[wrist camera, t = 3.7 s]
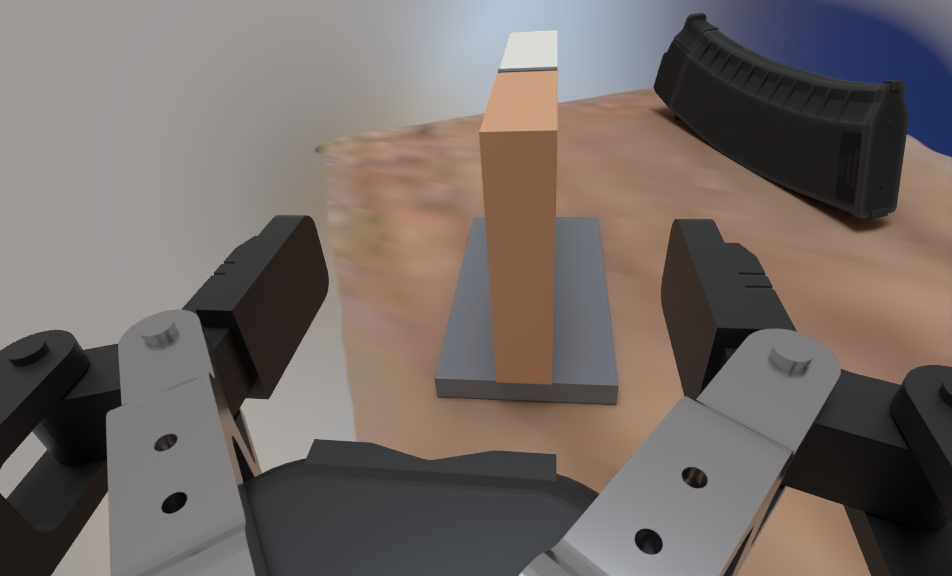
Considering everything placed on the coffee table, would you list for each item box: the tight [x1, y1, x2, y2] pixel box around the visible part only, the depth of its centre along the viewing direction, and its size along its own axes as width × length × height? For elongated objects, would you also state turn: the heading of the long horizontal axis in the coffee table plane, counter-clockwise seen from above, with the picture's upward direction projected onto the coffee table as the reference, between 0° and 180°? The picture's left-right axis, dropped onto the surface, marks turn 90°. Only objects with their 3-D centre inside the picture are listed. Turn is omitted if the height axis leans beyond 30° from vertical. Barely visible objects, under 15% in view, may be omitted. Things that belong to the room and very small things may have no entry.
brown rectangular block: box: [479, 71, 557, 385], centre depth 28 cm, size 3×8×14 cm, turn 173°
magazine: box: [654, 13, 909, 219], centre depth 50 cm, size 17×3×30 cm
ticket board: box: [435, 30, 618, 404], centre depth 33 cm, size 10×18×16 cm, turn 173°
